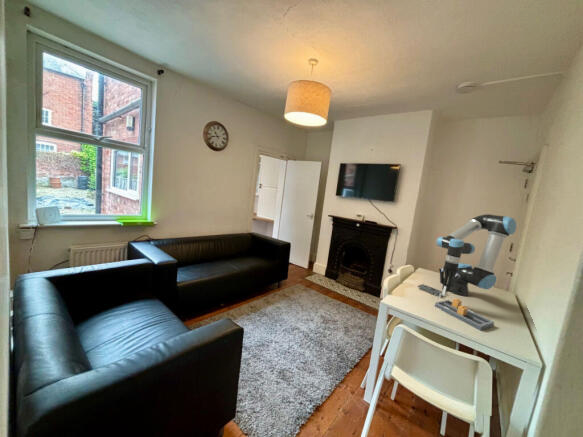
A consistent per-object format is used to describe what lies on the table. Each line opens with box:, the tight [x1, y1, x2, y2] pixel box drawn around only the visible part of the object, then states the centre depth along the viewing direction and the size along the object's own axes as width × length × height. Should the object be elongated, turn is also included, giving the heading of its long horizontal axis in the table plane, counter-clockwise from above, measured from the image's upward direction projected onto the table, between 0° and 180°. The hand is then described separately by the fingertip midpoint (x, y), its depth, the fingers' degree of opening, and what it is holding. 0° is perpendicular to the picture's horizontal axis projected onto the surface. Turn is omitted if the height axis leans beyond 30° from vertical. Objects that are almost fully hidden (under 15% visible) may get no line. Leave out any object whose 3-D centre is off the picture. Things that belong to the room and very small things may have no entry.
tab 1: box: [451, 298, 463, 308], centre depth 148 cm, size 4×3×5 cm
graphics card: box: [417, 283, 444, 298], centre depth 175 cm, size 17×4×12 cm
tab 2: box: [457, 305, 469, 316], centre depth 139 cm, size 4×3×5 cm
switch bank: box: [434, 299, 495, 331], centre depth 142 cm, size 14×26×3 cm, turn 25°
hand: (444, 295), depth 155 cm, fingers closed
